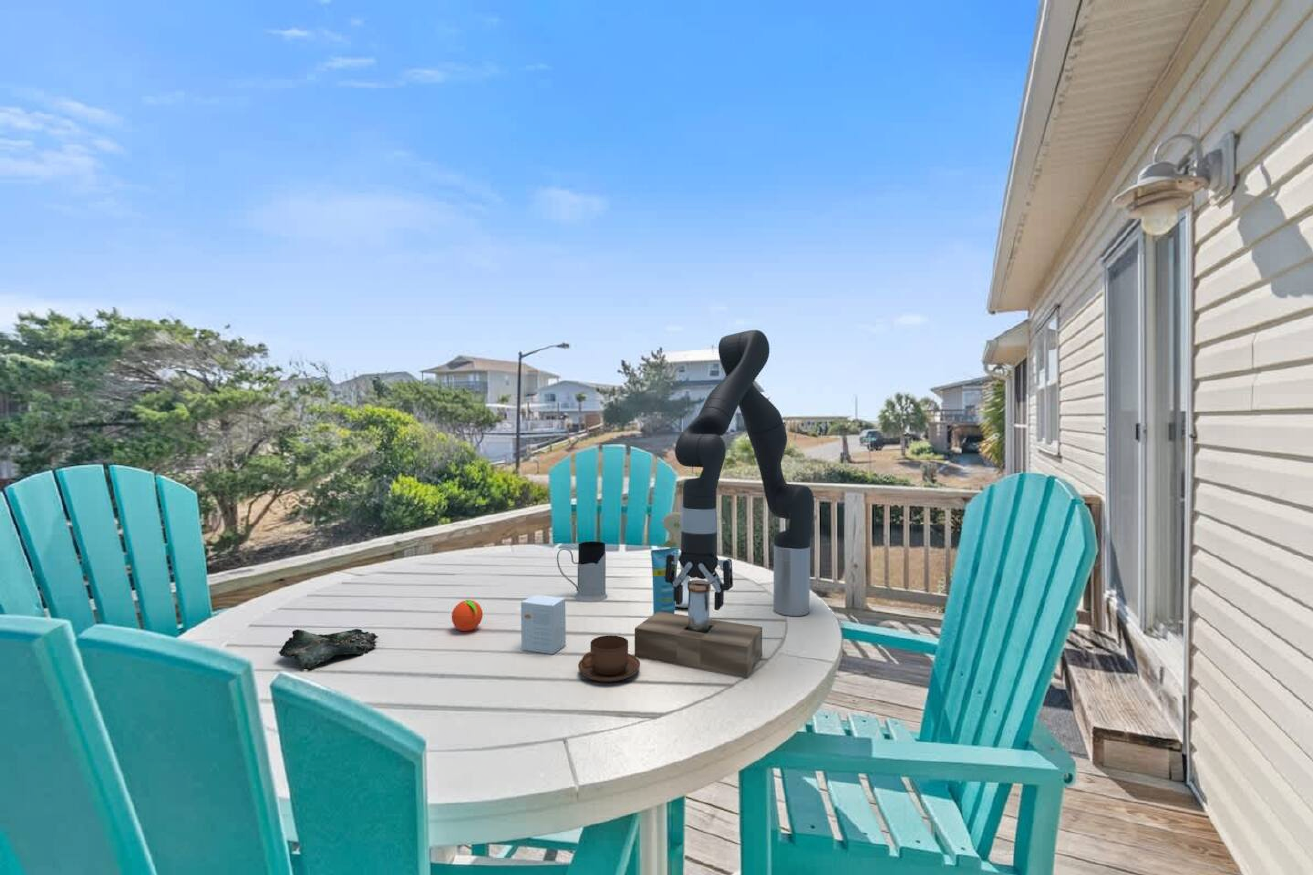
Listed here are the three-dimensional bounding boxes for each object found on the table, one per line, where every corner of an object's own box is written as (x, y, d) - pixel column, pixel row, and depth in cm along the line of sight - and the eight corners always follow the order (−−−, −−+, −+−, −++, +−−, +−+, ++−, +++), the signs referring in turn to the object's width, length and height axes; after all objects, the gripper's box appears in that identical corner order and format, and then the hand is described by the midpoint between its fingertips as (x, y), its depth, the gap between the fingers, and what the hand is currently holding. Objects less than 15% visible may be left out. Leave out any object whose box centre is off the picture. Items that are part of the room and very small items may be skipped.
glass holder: (605, 602, 155) (605, 547, 154) (553, 601, 155) (553, 547, 154) (608, 592, 163) (608, 541, 163) (559, 592, 163) (559, 540, 163)
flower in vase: (713, 602, 154) (713, 511, 154) (693, 614, 145) (693, 517, 144) (672, 595, 161) (672, 508, 161) (650, 605, 152) (651, 512, 151)
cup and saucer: (615, 693, 102) (616, 659, 102) (565, 677, 108) (565, 645, 108) (651, 669, 112) (651, 638, 112) (603, 656, 118) (603, 627, 118)
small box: (566, 645, 124) (566, 597, 123) (553, 655, 118) (553, 605, 118) (534, 640, 126) (534, 594, 126) (520, 650, 121) (520, 601, 121)
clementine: (490, 631, 132) (490, 600, 132) (463, 639, 127) (463, 607, 127) (473, 622, 137) (473, 593, 137) (446, 630, 132) (446, 600, 132)
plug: (691, 644, 121) (692, 578, 121) (713, 648, 119) (713, 581, 119) (683, 652, 117) (684, 584, 117) (705, 656, 115) (706, 587, 115)
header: (657, 637, 129) (658, 611, 128) (761, 655, 119) (762, 627, 119) (634, 656, 118) (634, 628, 118) (746, 678, 108) (747, 647, 108)
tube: (656, 634, 130) (657, 551, 130) (645, 628, 135) (646, 547, 134) (682, 628, 135) (683, 548, 134) (671, 622, 139) (671, 544, 138)
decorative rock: (349, 615, 132) (396, 618, 126) (349, 641, 131) (396, 646, 125) (265, 637, 114) (316, 642, 108) (265, 668, 114) (316, 675, 108)
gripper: (737, 529, 118) (736, 606, 118) (674, 523, 124) (673, 597, 124) (726, 535, 111) (725, 616, 112) (660, 528, 117) (659, 606, 117)
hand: (698, 606), depth 118 cm, fingers open, 8 cm apart
